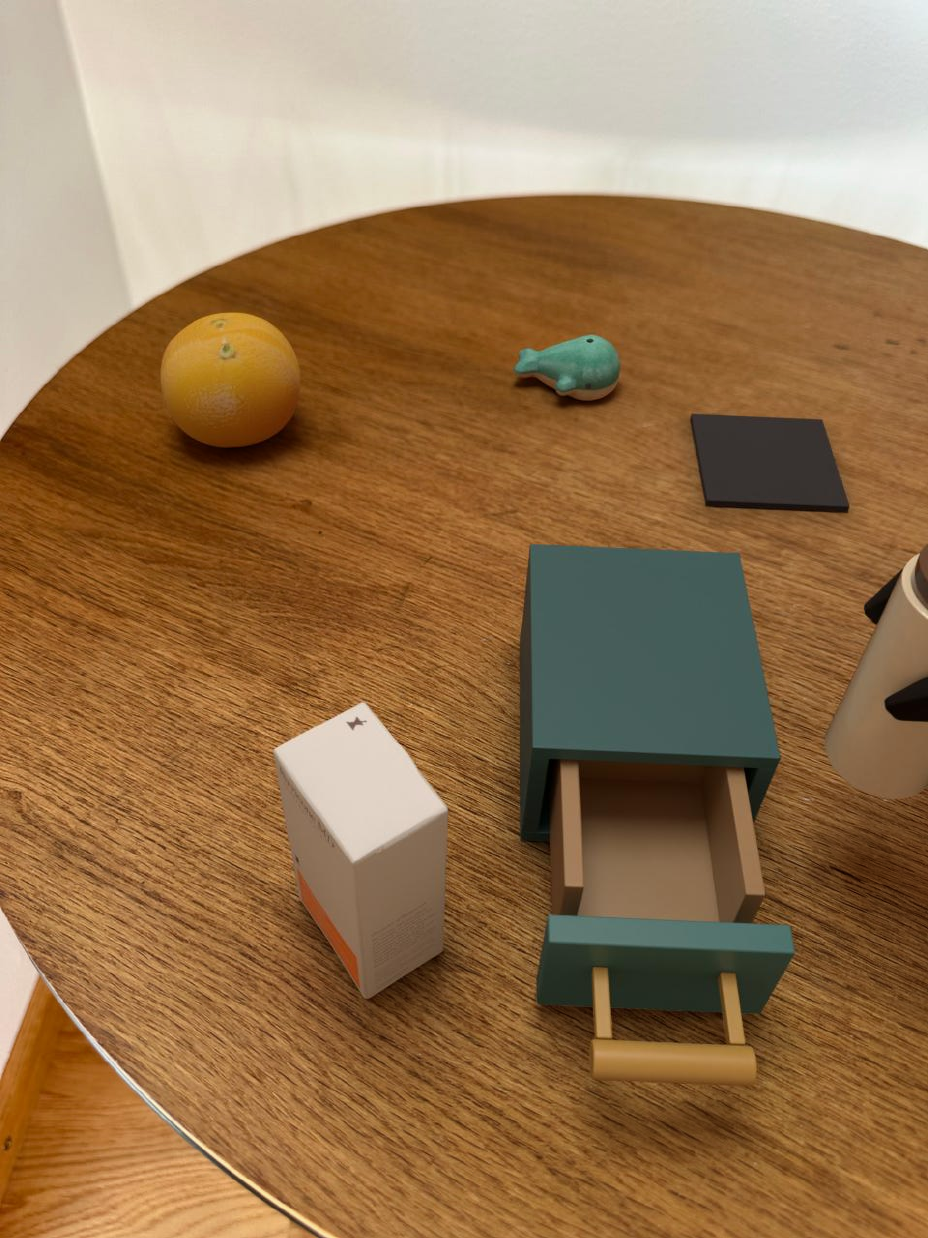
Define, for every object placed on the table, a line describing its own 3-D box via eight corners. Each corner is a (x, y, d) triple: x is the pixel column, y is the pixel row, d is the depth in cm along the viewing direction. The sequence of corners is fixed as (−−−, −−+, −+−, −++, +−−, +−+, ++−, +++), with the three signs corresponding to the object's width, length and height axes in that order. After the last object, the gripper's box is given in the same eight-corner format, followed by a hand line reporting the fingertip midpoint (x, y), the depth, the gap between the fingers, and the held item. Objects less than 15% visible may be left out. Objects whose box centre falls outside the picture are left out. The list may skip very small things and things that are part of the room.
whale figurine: (610, 416, 74) (617, 369, 71) (506, 398, 75) (509, 351, 72) (622, 369, 78) (629, 323, 75) (523, 352, 79) (527, 306, 76)
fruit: (189, 483, 68) (167, 377, 62) (159, 411, 73) (136, 306, 67) (321, 450, 71) (313, 345, 65) (284, 383, 76) (272, 279, 70)
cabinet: (742, 851, 51) (781, 758, 46) (520, 841, 51) (532, 747, 46) (710, 651, 60) (739, 552, 54) (519, 642, 60) (529, 543, 54)
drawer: (777, 1121, 42) (817, 1066, 38) (537, 1110, 42) (551, 1054, 38) (724, 784, 53) (751, 712, 49) (533, 776, 53) (543, 703, 49)
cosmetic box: (295, 899, 49) (267, 744, 40) (375, 853, 51) (365, 695, 42) (365, 1008, 46) (351, 865, 37) (448, 954, 47) (454, 806, 39)
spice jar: (925, 719, 47) (1031, 535, 39) (941, 807, 44) (1060, 627, 36) (819, 705, 48) (902, 520, 40) (828, 791, 45) (921, 610, 37)
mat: (820, 424, 74) (822, 418, 74) (847, 512, 68) (849, 506, 68) (690, 418, 74) (691, 413, 74) (705, 505, 68) (707, 499, 68)
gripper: (1151, 133, 36) (743, 386, 44) (1445, 509, 23) (794, 760, 32) (1261, 355, 41) (878, 542, 50) (1546, 756, 28) (967, 913, 37)
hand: (878, 661), depth 42 cm, fingers closed on spice jar, 4 cm apart
